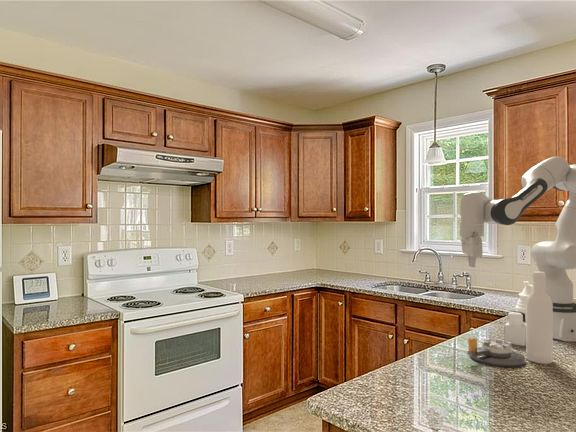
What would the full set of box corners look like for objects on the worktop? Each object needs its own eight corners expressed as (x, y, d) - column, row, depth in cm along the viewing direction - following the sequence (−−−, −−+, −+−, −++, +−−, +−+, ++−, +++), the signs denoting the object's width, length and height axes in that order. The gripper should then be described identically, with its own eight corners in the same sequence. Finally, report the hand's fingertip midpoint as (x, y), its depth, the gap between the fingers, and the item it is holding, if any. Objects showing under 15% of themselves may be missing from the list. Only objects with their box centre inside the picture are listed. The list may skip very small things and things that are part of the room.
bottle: (522, 359, 147) (521, 271, 147) (531, 355, 152) (531, 270, 152) (548, 365, 141) (547, 274, 141) (556, 360, 146) (556, 272, 146)
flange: (515, 353, 154) (515, 348, 154) (532, 369, 138) (532, 363, 138) (465, 350, 158) (465, 345, 158) (475, 365, 141) (475, 360, 141)
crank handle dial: (495, 348, 154) (495, 331, 154) (517, 355, 145) (517, 337, 146) (459, 354, 147) (459, 336, 147) (480, 362, 139) (480, 342, 139)
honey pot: (519, 321, 204) (519, 283, 205) (512, 315, 217) (512, 279, 217) (549, 322, 201) (549, 284, 202) (540, 316, 214) (540, 280, 214)
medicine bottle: (508, 339, 173) (508, 309, 173) (528, 342, 168) (528, 311, 168) (504, 343, 167) (504, 312, 167) (524, 346, 163) (524, 314, 163)
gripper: (486, 232, 162) (486, 269, 161) (474, 231, 182) (474, 264, 181) (469, 232, 163) (469, 269, 163) (458, 231, 183) (458, 264, 183)
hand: (471, 266), depth 172 cm, fingers closed
